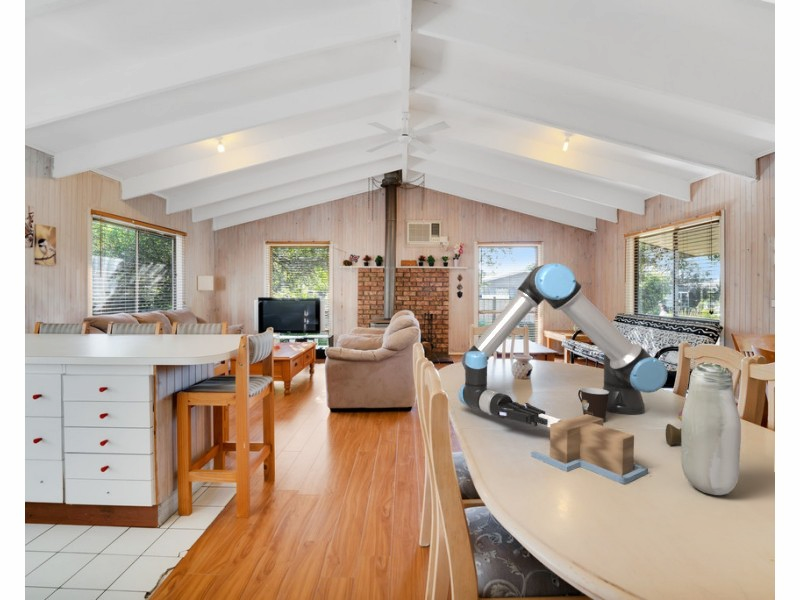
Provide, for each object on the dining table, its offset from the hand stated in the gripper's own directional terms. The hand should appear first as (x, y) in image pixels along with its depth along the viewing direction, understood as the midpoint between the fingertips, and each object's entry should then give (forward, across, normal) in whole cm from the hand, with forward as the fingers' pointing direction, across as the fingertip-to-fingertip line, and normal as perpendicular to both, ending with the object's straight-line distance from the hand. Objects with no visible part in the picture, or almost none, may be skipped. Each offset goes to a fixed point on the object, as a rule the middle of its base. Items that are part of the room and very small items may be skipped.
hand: (559, 424), depth 113 cm
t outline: (+10, 0, -7) cm, 12 cm away
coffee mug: (-10, -32, -7) cm, 34 cm away
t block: (+11, 0, -7) cm, 13 cm away
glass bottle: (+32, -8, -7) cm, 34 cm away
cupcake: (+15, -46, -7) cm, 49 cm away
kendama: (+21, -29, -7) cm, 36 cm away
